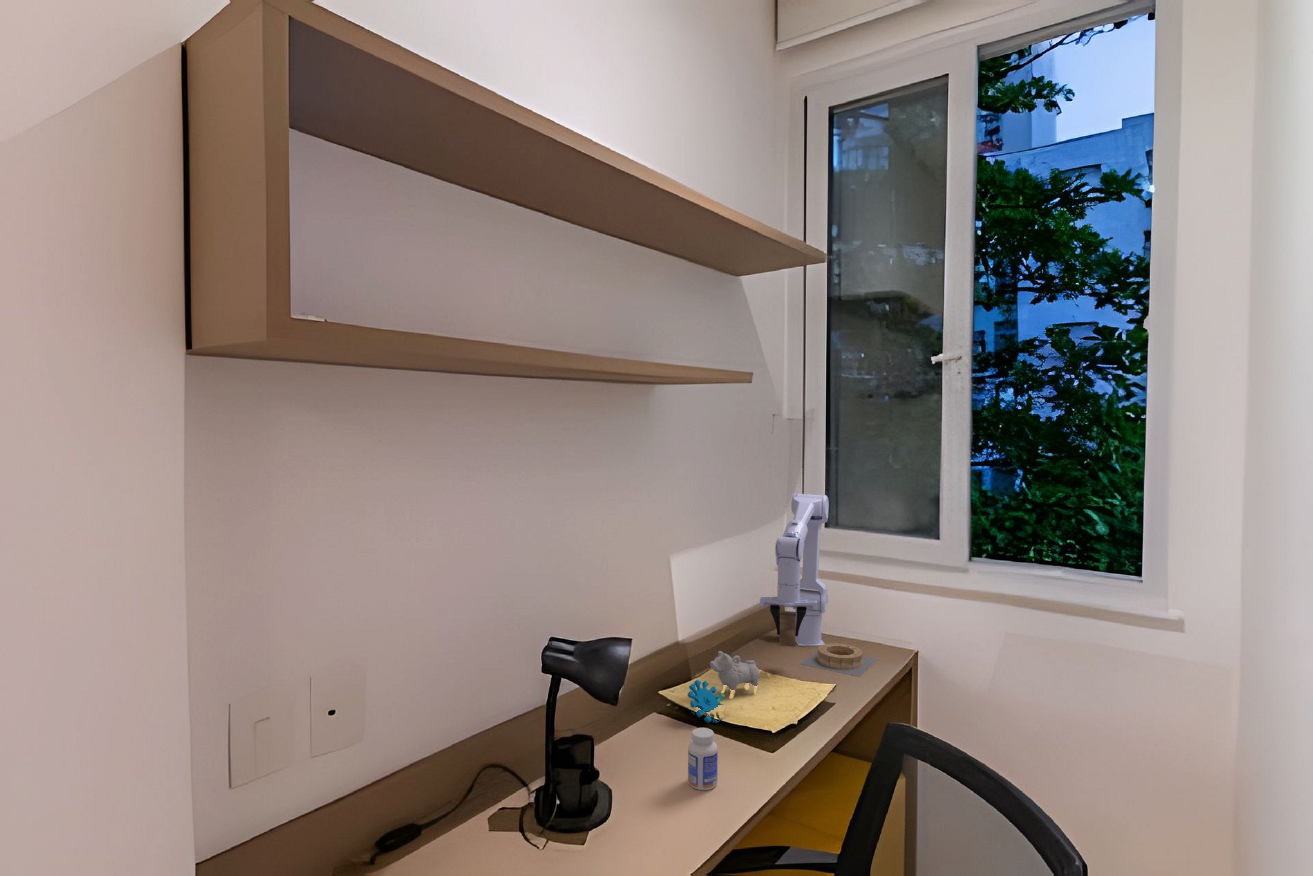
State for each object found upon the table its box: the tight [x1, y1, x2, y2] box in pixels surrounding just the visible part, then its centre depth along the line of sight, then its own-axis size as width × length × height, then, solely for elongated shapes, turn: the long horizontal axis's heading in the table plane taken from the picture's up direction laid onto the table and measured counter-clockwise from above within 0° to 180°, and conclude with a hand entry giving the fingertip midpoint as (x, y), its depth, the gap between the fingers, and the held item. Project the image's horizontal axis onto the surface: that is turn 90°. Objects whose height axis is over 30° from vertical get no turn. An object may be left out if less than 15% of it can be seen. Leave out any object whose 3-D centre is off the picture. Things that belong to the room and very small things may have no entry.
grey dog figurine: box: [709, 650, 761, 691], centre depth 177 cm, size 5×13×11 cm, turn 114°
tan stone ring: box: [817, 642, 864, 669], centre depth 199 cm, size 12×12×3 cm
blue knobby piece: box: [687, 679, 726, 724], centre depth 164 cm, size 11×6×10 cm
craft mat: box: [800, 650, 879, 678], centre depth 199 cm, size 16×16×1 cm
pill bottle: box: [687, 727, 719, 791], centre depth 135 cm, size 5×5×10 cm
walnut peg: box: [779, 610, 796, 648], centre depth 191 cm, size 4×4×8 cm
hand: (787, 634), depth 191 cm, fingers closed on walnut peg, 4 cm apart
